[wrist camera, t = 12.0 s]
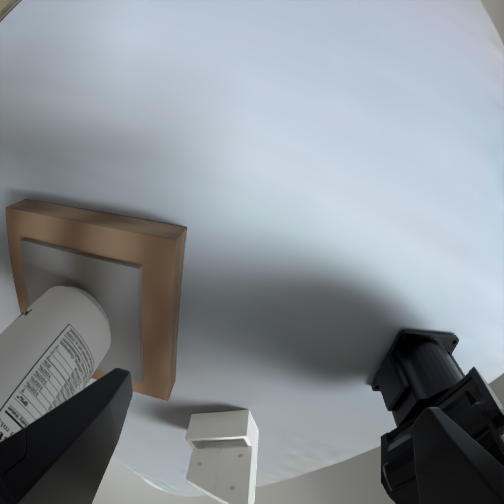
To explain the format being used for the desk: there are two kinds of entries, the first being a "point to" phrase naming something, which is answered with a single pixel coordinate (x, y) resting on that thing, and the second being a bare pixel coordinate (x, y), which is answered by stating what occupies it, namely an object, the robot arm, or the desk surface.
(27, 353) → the energy drink can
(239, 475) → the white angled block
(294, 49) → the desk surface
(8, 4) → the book
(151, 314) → the brown square frame
